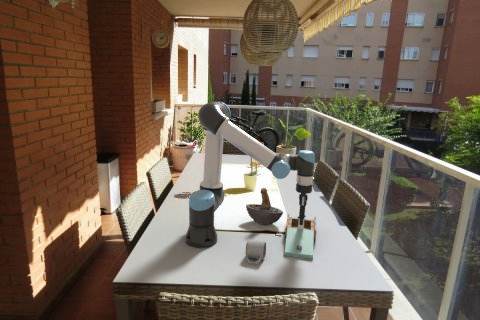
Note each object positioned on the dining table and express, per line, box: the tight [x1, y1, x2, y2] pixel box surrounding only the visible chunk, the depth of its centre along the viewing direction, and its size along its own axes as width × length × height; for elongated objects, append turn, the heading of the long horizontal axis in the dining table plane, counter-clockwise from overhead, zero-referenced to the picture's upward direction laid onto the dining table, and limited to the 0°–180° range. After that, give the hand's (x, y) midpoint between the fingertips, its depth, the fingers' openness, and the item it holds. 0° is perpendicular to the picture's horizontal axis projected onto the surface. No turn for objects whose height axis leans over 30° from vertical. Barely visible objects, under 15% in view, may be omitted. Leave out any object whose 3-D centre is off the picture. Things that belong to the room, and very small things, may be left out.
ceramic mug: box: [245, 240, 267, 266], centre depth 149 cm, size 11×8×8 cm
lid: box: [284, 228, 314, 260], centre depth 159 cm, size 17×12×3 cm
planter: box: [245, 187, 284, 225], centre depth 186 cm, size 15×17×20 cm
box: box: [284, 213, 317, 244], centre depth 176 cm, size 18×15×6 cm
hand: (300, 230), depth 168 cm, fingers closed
